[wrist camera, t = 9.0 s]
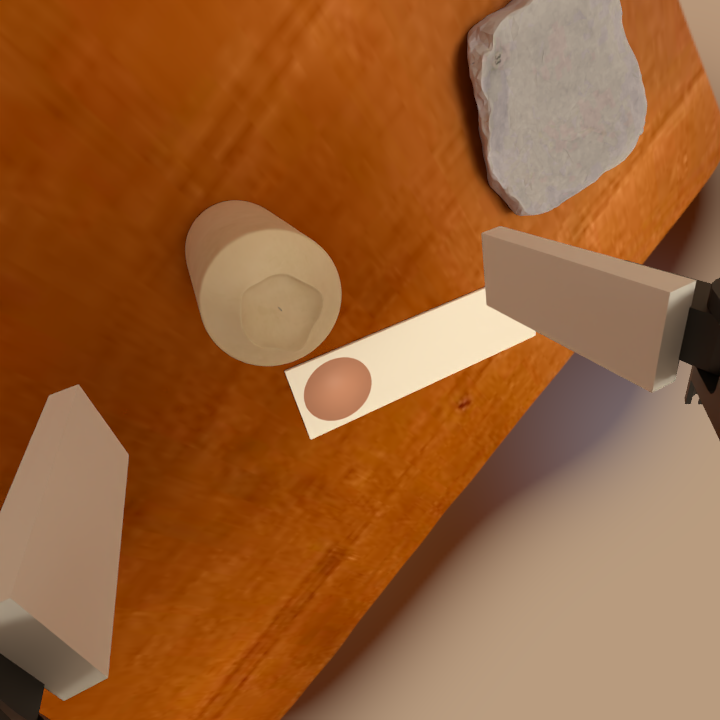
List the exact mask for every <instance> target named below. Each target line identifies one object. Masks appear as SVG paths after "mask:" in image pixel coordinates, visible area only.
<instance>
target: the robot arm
mask: <svg viewBox="0 0 720 720" xmlns="http://www.w3.org/2000/svg"><path fill="white" fill-rule="evenodd" d="M482 247H483V262H484V276H485V291H486V305H487V306H489V307H491V308H493V309H495V310H497V311H499V312H500V313H502V314H504V315H506V316H508V317H510V318H512V319H514V320H515V321H517V322H519V323H521V324H523V325H525V326H527V327H529V328H531V329H532V330H534V331H536V332H538V333H540V334H542V335H544V336H546V337H548V338H549V339H551V340H553V341H555V342H557V343H559V344H561V345H563V346H564V347H566V348H568V349H570V350H572V351H574V352H576V353H578V354H580V355H581V356H584V357H585V358H587V359H589V360H591V361H593V362H595V363H597V364H598V365H600V366H602V367H604V368H606V369H608V370H610V371H612V372H614V373H615V374H617V375H619V376H621V377H623V378H625V379H627V380H629V381H631V382H632V383H634V384H636V385H638V386H640V387H642V388H644V389H646V390H648V391H649V392H651V393H653V392H655V391H657V390H659V389H661V388H662V387H664V386H666V385H668V384H670V383H672V382H674V381H675V378H676V374H677V369H678V364H679V360H681V361H684V362H686V363H688V364H690V365H692V369H691V374H690V378H689V382H688V387H687V391H686V395H685V404H690V403H691V400H692V397H693V396H694V395H695V394H698V395H699V401H698V404H703V406H704V408H705V410H706V412H707V415H708V417H709V418H710V421H711V423H712V425H713V427H714V429H715V431H716V433H717V435H718V438H719V439H720V278H719V279H716V280H715V281H714V282H713V283H712V284H710V283H706V282H703V281H699V280H696V279H692V278H688V277H685V276H681V275H677V274H674V273H670V272H667V271H663V270H658V269H656V268H652V267H648V266H647V267H646V266H644V265H641V264H638V263H634V262H630V261H627V260H621V259H618V258H614V257H610V256H607V255H603V254H600V253H596V252H592V251H589V250H585V249H581V248H578V247H574V246H571V245H567V244H563V243H560V242H556V241H553V240H549V239H545V238H542V237H538V236H535V235H531V234H527V233H524V232H520V231H516V230H513V229H509V228H506V227H502V226H499V227H496V228H494V229H491V230H488V231H486V232H483V233H482ZM128 461H129V454H128V453H127V452H126V450H125V449H124V447H123V446H122V444H121V443H120V442H119V440H118V439H117V437H116V436H115V435H114V433H113V432H112V430H111V429H110V428H109V426H108V425H107V423H106V422H105V421H104V419H103V418H102V416H101V415H100V414H99V412H98V411H97V409H96V408H95V406H94V405H93V404H92V402H91V401H90V399H89V398H88V397H87V395H86V394H85V392H84V391H83V390H82V388H81V387H80V385H79V384H78V385H75V386H73V387H70V388H67V389H65V390H62V391H59V392H57V393H54V394H51V395H49V397H48V399H47V402H46V404H45V406H44V409H43V411H42V413H41V416H40V418H39V421H38V423H37V425H36V428H35V430H34V433H33V435H32V437H31V440H30V442H29V445H28V447H27V449H26V452H25V454H24V456H23V459H22V461H21V464H20V466H19V468H18V471H17V473H16V476H15V478H14V480H13V483H12V485H11V487H10V490H9V492H8V495H7V497H6V499H5V502H4V504H3V507H2V509H1V511H0V720H50V719H48V718H47V717H45V716H44V715H42V714H40V713H39V709H40V705H41V700H42V695H43V690H44V688H46V689H47V690H49V691H50V692H52V693H53V694H54V695H56V696H57V697H59V698H60V699H62V700H63V701H65V700H67V699H69V698H71V697H72V696H74V695H76V694H78V693H80V692H82V691H84V690H86V689H88V688H90V687H92V686H93V685H95V684H97V683H99V682H101V681H103V680H105V679H107V678H108V672H109V662H110V651H111V641H112V630H113V619H114V609H115V598H116V588H117V577H118V566H119V556H120V545H121V535H122V524H123V513H124V503H125V492H126V482H127V471H128Z"/></svg>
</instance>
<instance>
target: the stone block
mask: <svg viewBox="0 0 720 720" xmlns="http://www.w3.org/2000/svg"><path fill="white" fill-rule="evenodd" d="M467 43H468V46H467V58H468V64H469V72H470V79H471V81H472V84H473V89H474V97H475V100H476V102H477V106H478V117H479V118H478V122H479V128H478V130H479V134H480V139H481V143H482V150H483V156H484V161H485V164H486V169H487V179H488V182H489V185H490V187H491V188H492V189H493V190H494V191H495V192H496V193H497V194H498V195H499V196H500V197H501V198H502V199H503V200H504V201H505V202H506V203H507V205H508V206H509V208H510V209H511V210H512V211H513V212H514V213H515V214H516V215H520V216H523V215H537V214H542V213H544V212H548V211H550V210H552V209H553V208H555V207H557V206H559V205H560V204H561V203H563V202H564V201H566V200H567V199H569V198H570V197H572V196H573V195H575V194H577V193H578V192H580V191H581V190H583V189H584V188H586V187H587V186H589V185H590V184H592V183H594V182H595V181H597V179H598V178H599V177H600V176H601V175H602V174H603V173H604V172H606V171H608V170H610V169H612V168H614V167H616V166H617V165H618V164H620V163H621V162H622V161H624V160H625V159H626V158H627V157H628V155H629V154H630V153H631V152H632V150H633V149H634V147H635V146H636V143H637V141H638V138H639V135H641V134H642V133H643V126H644V124H645V116H646V110H647V101H646V96H645V89H644V86H643V82H642V76H641V73H640V70H639V65H638V62H637V60H636V58H635V55H634V53H633V51H632V49H631V48H630V46H629V44H628V41H627V38H626V35H625V32H624V29H623V25H622V7H621V4H620V0H512V1H511V2H509V3H508V4H507V5H506V6H505V7H504V8H502V9H500V10H498V11H496V12H495V13H492V14H489V15H487V16H486V17H485V18H484V19H483V20H482V21H480V22H479V23H477V24H476V25H474V26H473V27H472V28H471V29H470V31H469V32H468V37H467Z"/></svg>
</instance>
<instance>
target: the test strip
mask: <svg viewBox="0 0 720 720" xmlns="http://www.w3.org/2000/svg"><path fill="white" fill-rule="evenodd" d="M535 335H536V331H534V330H532V329H531V328H529V327H527V326H525V325H523V324H521V323H519V322H517V321H515V320H514V319H512V318H510V317H508V316H506V315H504V314H502V313H500V312H499V311H497V310H495V309H493V308H491V307H489V306H487V305H486V291H485V287H483V288H481V289H478V290H476V291H474V292H471V293H469V294H467V295H464V296H462V297H459V298H457V299H455V300H452V301H450V302H447V303H445V304H443V305H440V306H438V307H435V308H433V309H431V310H428V311H426V312H423V313H421V314H419V315H416V316H414V317H411V318H409V319H407V320H404V321H402V322H399V323H397V324H395V325H392V326H390V327H387V328H385V329H383V330H380V331H378V332H376V333H373V334H371V335H368V336H366V337H364V338H361V339H359V340H356V341H354V342H352V343H349V344H347V345H344V346H342V347H340V348H337V349H335V350H332V351H330V352H328V353H325V354H323V355H320V356H318V357H316V358H313V359H311V360H308V361H306V362H304V363H301V364H299V365H297V366H294V367H292V368H289V369H287V370H285V371H284V372H285V374H286V377H287V380H288V382H289V385H290V387H291V390H292V393H293V395H294V398H295V401H296V403H297V406H298V408H299V411H300V414H301V416H302V419H303V421H304V424H305V427H306V429H307V432H308V434H309V437H310V439H313V438H315V437H318V436H320V435H322V434H324V433H326V432H328V431H331V430H333V429H335V428H337V427H339V426H341V425H343V424H346V423H348V422H350V421H352V420H354V419H356V418H359V417H361V416H363V415H365V414H367V413H369V412H371V411H374V410H376V409H378V408H380V407H382V406H384V405H387V404H389V403H391V402H393V401H395V400H397V399H400V398H402V397H404V396H406V395H408V394H410V393H412V392H415V391H417V390H419V389H421V388H423V387H425V386H428V385H430V384H432V383H434V382H436V381H438V380H441V379H443V378H445V377H447V376H449V375H451V374H453V373H456V372H458V371H460V370H462V369H464V368H466V367H469V366H471V365H473V364H475V363H477V362H479V361H481V360H484V359H486V358H488V357H490V356H492V355H494V354H497V353H499V352H501V351H503V350H505V349H507V348H510V347H512V346H514V345H516V344H518V343H520V342H522V341H525V340H527V339H529V338H531V337H533V336H535Z"/></svg>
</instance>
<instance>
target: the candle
mask: <svg viewBox="0 0 720 720" xmlns="http://www.w3.org/2000/svg"><path fill="white" fill-rule="evenodd" d="M185 255H186V262H187V266H188V270H189V274H190V278H191V281H192V285H193V289H194V292H195V296H196V300H197V303H198V307H199V311H200V314H201V318H202V321H203V324H204V326H205V329H206V331H207V332H208V334H209V336H210V337H211V339H212V340H213V341H214V342H215V344H216V345H217V346H218V347H219V348H220V349H222V350H223V351H224V352H225V353H227V354H228V355H230V356H231V357H233V358H235V359H237V360H239V361H242V362H245V363H248V364H252V365H258V366H276V365H282V364H286V363H290V362H293V361H295V360H298V359H300V358H302V357H304V356H305V355H307V354H309V353H310V352H312V351H313V350H314V349H315V348H317V347H318V346H319V345H320V344H321V343H322V342H323V341H324V340H325V338H326V337H327V336H328V334H329V333H330V331H331V330H332V328H333V326H334V324H335V322H336V320H337V317H338V314H339V311H340V305H341V294H342V293H341V283H340V278H339V275H338V272H337V269H336V267H335V265H334V263H333V261H332V260H331V258H330V257H329V255H328V254H327V253H326V252H325V251H324V250H323V248H322V247H321V246H319V245H318V244H317V243H316V242H314V241H313V240H312V239H310V238H309V237H307V236H306V235H304V234H303V233H301V232H300V231H298V230H297V229H295V228H294V227H292V226H291V225H289V224H288V223H286V222H285V221H283V220H282V219H280V218H279V217H277V216H276V215H274V214H273V213H271V212H269V211H268V210H266V209H265V208H263V207H261V206H259V205H257V204H254V203H251V202H247V201H241V200H231V201H225V202H221V203H218V204H215V205H213V206H211V207H209V208H208V209H206V210H205V211H204V212H202V213H201V214H200V215H199V216H198V217H197V218H196V220H195V221H194V222H193V224H192V226H191V228H190V230H189V232H188V235H187V238H186V244H185Z"/></svg>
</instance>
